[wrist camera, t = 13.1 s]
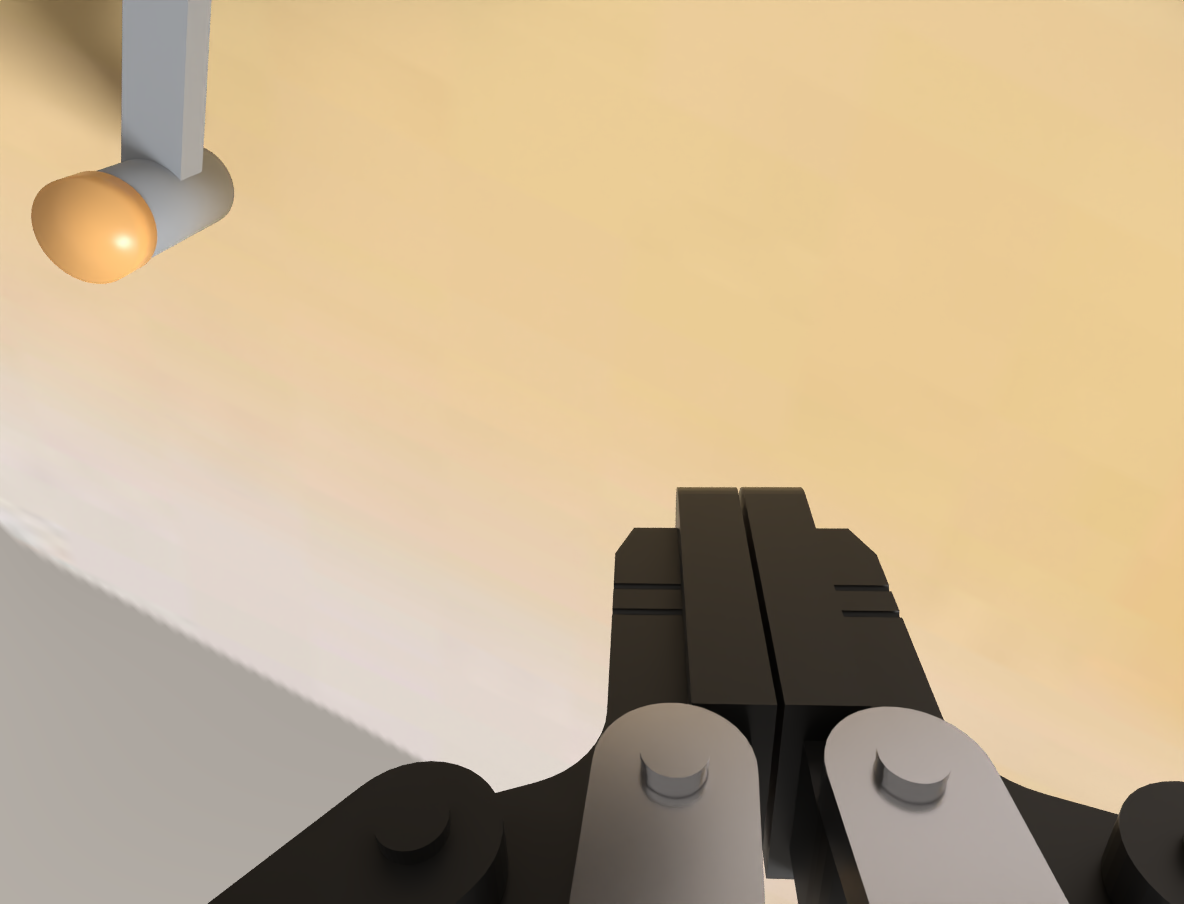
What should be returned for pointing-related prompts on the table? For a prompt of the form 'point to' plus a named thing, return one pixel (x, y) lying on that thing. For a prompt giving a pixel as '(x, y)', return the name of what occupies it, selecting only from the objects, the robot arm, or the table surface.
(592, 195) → the table surface
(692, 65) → the table surface
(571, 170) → the table surface
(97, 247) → the orange knob lever
